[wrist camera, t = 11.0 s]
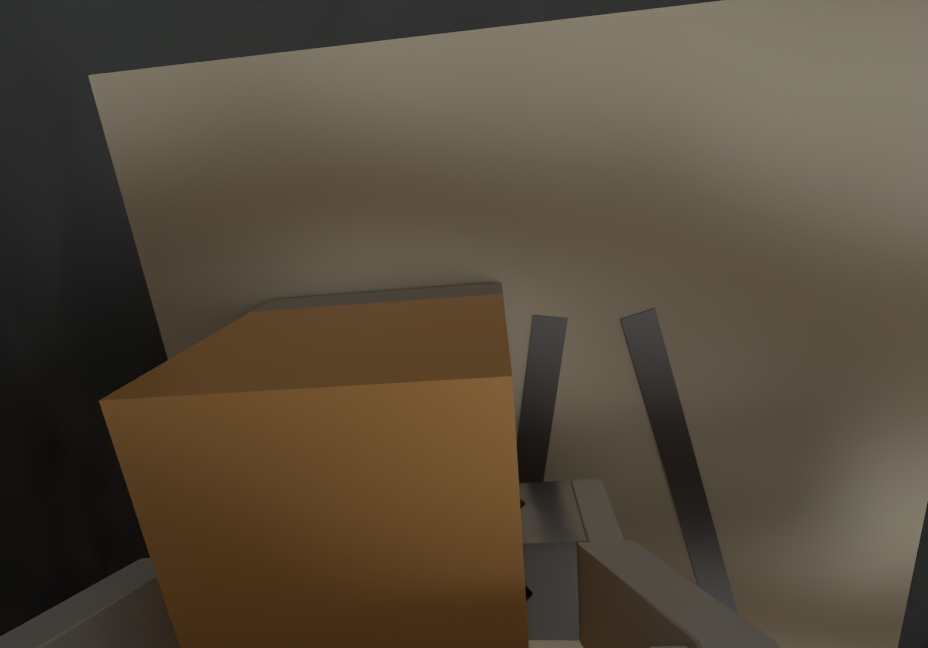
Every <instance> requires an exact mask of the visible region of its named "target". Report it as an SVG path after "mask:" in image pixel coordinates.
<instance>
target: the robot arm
mask: <svg viewBox="0 0 928 648" xmlns="http://www.w3.org/2000/svg"><path fill="white" fill-rule="evenodd" d="M519 493H520V509H521V525H522V542H523V558H524V575H525V591H526V607H527V624H528V640H574V641H580V644H581V645H582V646H583V647H584V648H780V647H779V645H778V643H777V642H776V641H775V640H773V639H772V638H771V637H769V636H768V635H766V634H765V633H763V632H762V631H761V630H759V629H758V628H756V627H755V626H754V625H752V624H751V623H749V622H748V621H747V620H745V619H744V618H742V617H741V616H739V615H738V614H737V613H735V612H734V611H732V610H731V609H730V608H728V607H727V606H725V605H724V604H722V603H721V602H720V601H718V600H717V599H715V598H714V597H713V596H711V595H710V594H708V593H707V592H705V591H704V590H703V589H701V588H700V587H698V586H697V585H696V584H694V583H693V582H691V581H690V580H689V579H687V578H686V577H684V576H683V575H681V574H680V573H679V572H677V571H676V570H674V569H673V568H672V567H670V566H669V565H667V564H666V563H664V562H663V561H662V560H660V559H659V558H657V557H656V556H655V555H653V554H652V553H650V552H649V551H647V550H646V549H645V548H643V547H642V546H640V545H639V544H638V543H636V542H635V541H624V539H623V536H622V533H621V531H620V528H619V525H618V523H617V520H616V517H615V515H614V512H613V509H612V507H611V504H610V502H609V499H608V496H607V494H606V491H605V488H604V486H603V483H602V480H601V479H599V478H598V477H594V478H582V479H570V480H562V481H546V482H530V483H519ZM0 648H180V646H179V643H178V640H177V637H176V634H175V631H174V628H173V625H172V622H171V619H170V616H169V613H168V610H167V607H166V604H165V601H164V598H163V595H162V592H161V589H160V586H159V582H158V579H157V576H156V573H155V570H154V567H153V564H152V561H151V558H142V559H139V560H137V561H135V562H134V563H132V564H130V565H128V566H126V567H125V568H123V569H121V570H119V571H117V572H116V573H114V574H112V575H110V576H108V577H107V578H105V579H103V580H101V581H99V582H98V583H96V584H94V585H92V586H90V587H89V588H87V589H85V590H83V591H81V592H80V593H78V594H76V595H74V596H72V597H71V598H69V599H67V600H65V601H63V602H62V603H60V604H58V605H56V606H54V607H53V608H51V609H49V610H47V611H45V612H44V613H42V614H40V615H38V616H36V617H35V618H33V619H31V620H29V621H27V622H26V623H24V624H22V625H20V626H18V627H17V628H15V629H13V630H11V631H9V632H8V633H6V634H4V635H2V636H0Z"/></svg>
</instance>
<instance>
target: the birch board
mask: <svg viewBox="0 0 928 648" xmlns="http://www.w3.org/2000/svg"><path fill="white" fill-rule="evenodd" d="M88 76H89V80H90V84H91V87H92V91H93V94H94V98H95V101H96V105H97V108H98V112H99V116H100V119H101V123H102V126H103V130H104V133H105V137H106V141H107V144H108V148H109V151H110V155H111V158H112V162H113V166H114V169H115V173H116V176H117V180H118V183H119V187H120V190H121V194H122V198H123V201H124V205H125V208H126V212H127V215H128V219H129V223H130V226H131V230H132V233H133V237H134V240H135V244H136V248H137V251H138V255H139V258H140V262H141V265H142V269H143V272H144V276H145V280H146V283H147V287H148V290H149V294H150V297H151V301H152V305H153V308H154V312H155V315H156V319H157V322H158V326H159V330H160V333H161V337H162V340H163V344H164V347H165V351H166V354H167V358H168V360H169V359H171V358H173V357H174V356H176V355H178V354H179V353H181V352H183V351H185V350H186V349H188V348H190V347H191V346H193V345H195V344H197V343H198V342H200V341H202V340H203V339H205V338H207V337H209V336H210V335H212V334H214V333H215V332H217V331H219V330H220V329H222V328H224V327H226V326H227V325H229V324H231V323H232V322H234V321H236V320H238V319H239V318H241V317H243V316H244V315H246V314H248V313H250V312H251V311H253V310H255V309H256V308H258V307H260V306H262V305H263V304H265V303H267V302H268V301H270V300H272V299H284V298H297V297H311V296H325V295H339V294H352V293H366V292H380V291H393V290H407V289H421V288H435V287H448V286H462V285H476V284H490V283H502V290H503V299H504V308H505V316H506V325H507V334H508V342H509V351H510V360H511V368H512V378H513V394H514V411H515V427H516V443H517V460H518V476H519V483H530V482H546V481H562V480H570V479H582V478H594V477H598V478H599V479H601V480H602V483H603V486H604V488H605V491H606V494H607V496H608V499H609V502H610V504H611V507H612V509H613V512H614V515H615V517H616V520H617V523H618V525H619V528H620V531H621V533H622V536H623V539H624V541H635V542H636V543H638V544H639V545H640V546H642V547H643V548H645V549H646V550H647V551H649V552H650V553H652V554H653V555H655V556H656V557H657V558H659V559H660V560H662V561H663V562H664V563H666V564H667V565H669V566H670V567H672V568H673V569H674V570H676V571H677V572H679V573H680V574H681V575H683V576H684V577H686V578H687V579H689V580H690V581H691V582H693V583H694V584H696V585H697V586H698V587H700V588H701V589H703V590H704V591H705V592H707V593H708V594H710V595H711V596H713V597H714V598H715V599H717V600H718V601H720V602H721V603H722V604H724V605H725V606H727V607H728V608H730V609H731V610H732V611H734V612H735V613H737V614H738V615H739V616H741V617H742V618H744V619H745V620H747V621H748V622H749V623H751V624H752V625H754V626H755V627H756V628H758V629H759V630H761V631H762V632H763V633H765V634H766V635H768V636H769V637H771V638H772V639H773V640H775V641H776V642H777V643H778V645H779V647H780V648H898V643H899V638H900V633H901V628H902V623H903V618H904V614H905V609H906V604H907V599H908V594H909V589H910V584H911V579H912V574H913V570H914V565H915V560H916V555H917V550H918V545H919V540H920V535H921V531H922V526H923V521H924V516H925V511H926V506H927V501H928V0H724V1H715V2H707V3H698V4H690V5H681V6H673V7H664V8H656V9H647V10H639V11H630V12H622V13H613V14H605V15H596V16H588V17H579V18H571V19H562V20H554V21H545V22H537V23H528V24H520V25H511V26H503V27H494V28H486V29H477V30H469V31H460V32H452V33H443V34H435V35H426V36H418V37H409V38H401V39H392V40H384V41H375V42H367V43H358V44H350V45H341V46H333V47H324V48H316V49H307V50H299V51H291V52H282V53H274V54H265V55H257V56H248V57H240V58H231V59H223V60H214V61H206V62H197V63H189V64H180V65H172V66H163V67H155V68H146V69H138V70H129V71H121V72H112V73H104V74H95V75H88ZM529 648H584V647H583V646H582V645H581V644H580V641H574V640H529Z"/></svg>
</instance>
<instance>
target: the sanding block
mask: <svg viewBox="0 0 928 648" xmlns="http://www.w3.org/2000/svg"><path fill="white" fill-rule="evenodd" d="M99 403H100V406H101V409H102V412H103V415H104V418H105V421H106V424H107V427H108V430H109V433H110V436H111V439H112V442H113V445H114V448H115V451H116V455H117V458H118V461H119V464H120V467H121V470H122V473H123V476H124V479H125V482H126V485H127V488H128V491H129V494H130V497H131V500H132V503H133V506H134V509H135V512H136V515H137V518H138V522H139V525H140V528H141V531H142V534H143V537H144V540H145V543H146V546H147V549H148V552H149V555H150V558H151V561H152V564H153V567H154V570H155V573H156V576H157V579H158V582H159V586H160V589H161V592H162V595H163V598H164V601H165V604H166V607H167V610H168V613H169V616H170V619H171V622H172V625H173V628H174V631H175V634H176V637H177V640H178V643H179V646H180V648H529V640H528V624H527V607H526V591H525V575H524V558H523V542H522V525H521V509H520V493H519V476H518V460H517V443H516V427H515V411H514V394H513V378H512V368H511V360H510V351H509V342H508V334H507V325H506V316H505V308H504V299H503V290H502V283H490V284H476V285H462V286H448V287H435V288H421V289H407V290H393V291H380V292H366V293H352V294H339V295H325V296H311V297H297V298H284V299H272V300H270V301H268V302H267V303H265V304H263V305H262V306H260V307H258V308H256V309H255V310H253V311H251V312H250V313H248V314H246V315H244V316H243V317H241V318H239V319H238V320H236V321H234V322H232V323H231V324H229V325H227V326H226V327H224V328H222V329H220V330H219V331H217V332H215V333H214V334H212V335H210V336H209V337H207V338H205V339H203V340H202V341H200V342H198V343H197V344H195V345H193V346H191V347H190V348H188V349H186V350H185V351H183V352H181V353H179V354H178V355H176V356H174V357H173V358H171V359H169V360H167V361H166V362H164V363H162V364H161V365H159V366H157V367H155V368H154V369H152V370H150V371H149V372H147V373H145V374H144V375H142V376H140V377H138V378H137V379H135V380H133V381H132V382H130V383H128V384H126V385H125V386H123V387H121V388H120V389H118V390H116V391H114V392H113V393H111V394H109V395H108V396H106V397H104V398H102V399H101V400H99Z"/></svg>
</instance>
